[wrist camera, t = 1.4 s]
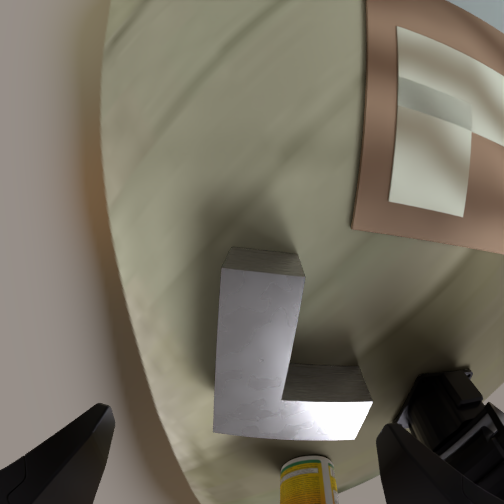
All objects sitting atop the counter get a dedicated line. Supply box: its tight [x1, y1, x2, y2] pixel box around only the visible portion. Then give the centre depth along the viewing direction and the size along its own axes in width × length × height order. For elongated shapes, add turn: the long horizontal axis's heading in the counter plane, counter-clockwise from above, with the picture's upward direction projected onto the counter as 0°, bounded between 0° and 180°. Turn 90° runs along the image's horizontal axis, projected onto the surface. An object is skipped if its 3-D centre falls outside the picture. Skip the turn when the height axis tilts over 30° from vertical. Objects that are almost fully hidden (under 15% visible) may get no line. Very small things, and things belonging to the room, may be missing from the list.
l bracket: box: [213, 247, 373, 440], centre depth 17 cm, size 12×10×4 cm
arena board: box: [351, 0, 504, 254], centre depth 14 cm, size 20×20×1 cm
